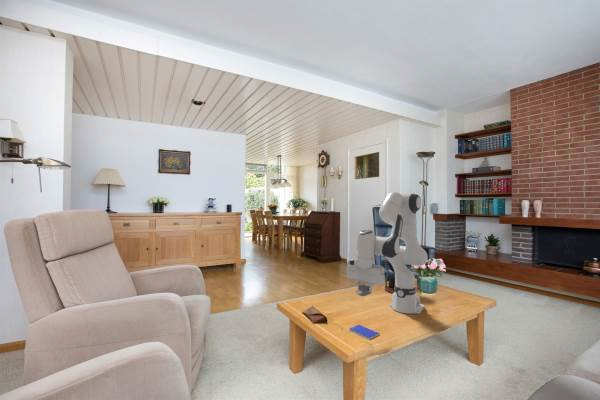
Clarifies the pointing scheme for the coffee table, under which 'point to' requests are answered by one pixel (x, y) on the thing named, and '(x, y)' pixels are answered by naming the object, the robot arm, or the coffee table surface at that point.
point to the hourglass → (392, 280)
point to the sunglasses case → (315, 315)
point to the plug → (363, 290)
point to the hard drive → (364, 331)
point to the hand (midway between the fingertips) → (364, 290)
